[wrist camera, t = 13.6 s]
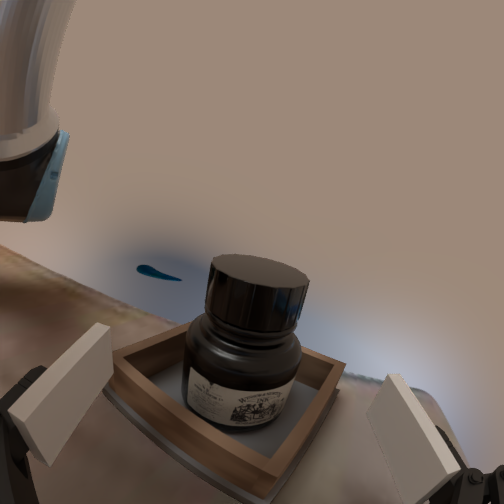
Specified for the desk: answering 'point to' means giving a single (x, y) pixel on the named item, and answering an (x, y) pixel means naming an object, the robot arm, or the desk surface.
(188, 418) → the tray
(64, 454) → the desk surface
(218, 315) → the ink bottle
